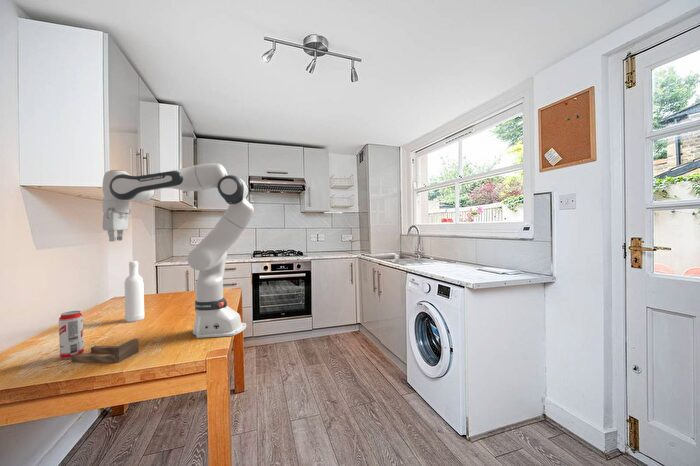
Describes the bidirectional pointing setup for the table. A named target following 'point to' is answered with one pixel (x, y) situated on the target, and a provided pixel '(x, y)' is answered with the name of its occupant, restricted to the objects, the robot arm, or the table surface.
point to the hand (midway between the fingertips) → (116, 240)
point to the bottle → (134, 294)
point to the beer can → (71, 334)
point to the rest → (120, 352)
